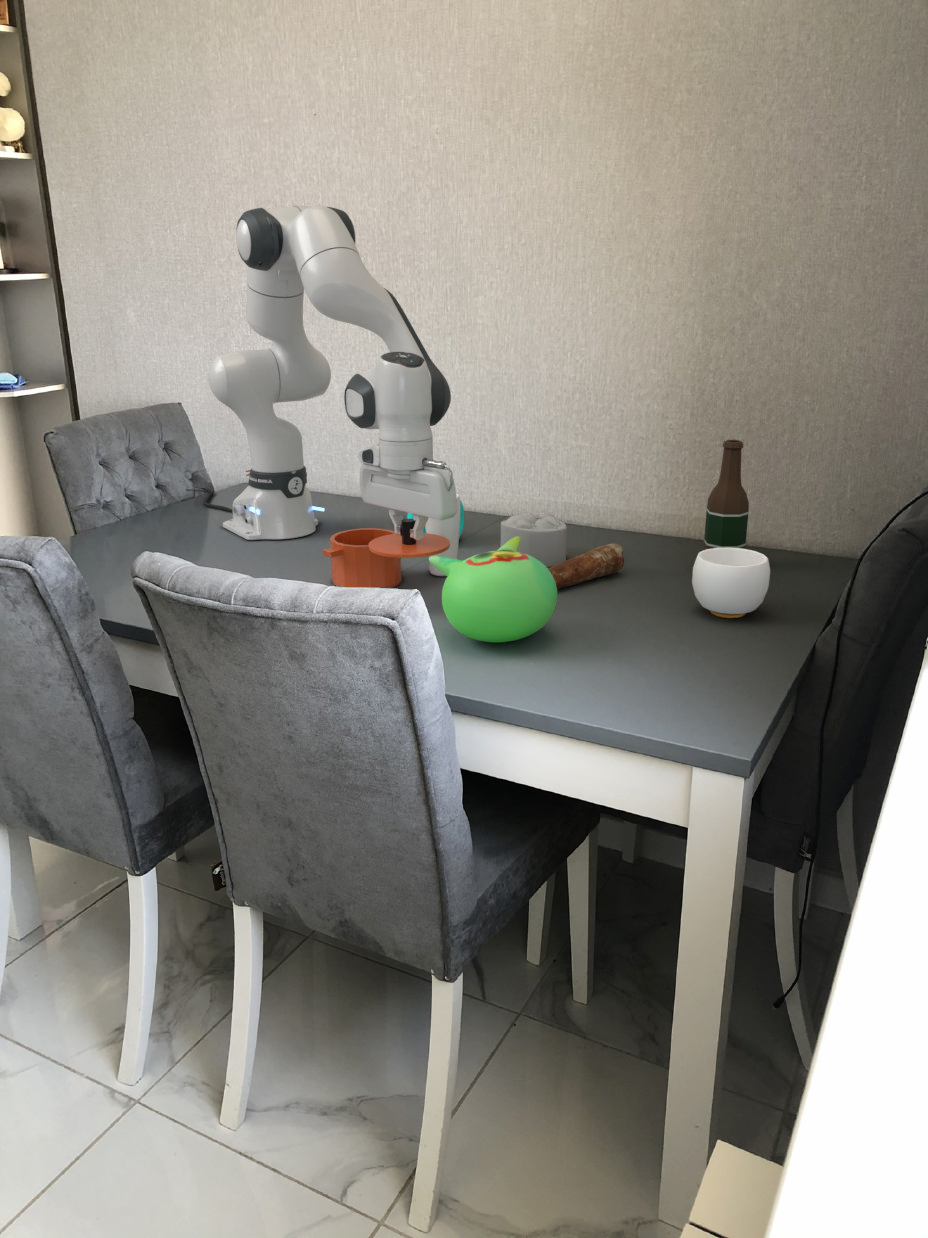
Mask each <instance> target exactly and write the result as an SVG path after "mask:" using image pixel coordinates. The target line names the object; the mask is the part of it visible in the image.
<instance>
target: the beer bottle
mask: <svg viewBox="0 0 928 1238" xmlns="http://www.w3.org/2000/svg"><path fill="white" fill-rule="evenodd" d="M722 447H723V451H722V459H721V466H720V471H719V472H720V473H719V478H718V481H717V483H716V485H715V486H714V487H713V488H712V490H711V492H710V494H709V496H708V498H707V504H706V513H705V525H704V526H705V527H704V536H703V537H704V538H703V549H702V551H704V550H706V549H712V548H741V549H746V546H747V545H746V543H747V534H748V524H749V523H748V522H749V513H750V511H749V509H750V508H749V507H750V506H749V505H750V504H749V498H748V494H747V492H746V491H745V488H744V487H743V484H742V449H744V442H742V440H740V439H727V440H724V441H723V443H722Z"/></svg>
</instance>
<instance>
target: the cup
mask: <svg viewBox="0 0 928 1238" xmlns="http://www.w3.org/2000/svg"><path fill="white" fill-rule="evenodd" d="M769 561H770V560H769V558H768V557H767V556H766V555H765V554H763V553H761V552H759V551H756V550H752V549H746V548H745V549H741V548H712V549H706V550H704V551H703V550H702V551H699V552H698V553H697V556H696V557H695V560H694V564H693V567H692V576H691V584H692V585H691V586H692V589H693V593H694V597H695V598H696V600H697V601H698V603H699V604H700V606H701V607H702V608H704V609H706V610H708V611H709V612H710V613H711V614H712V615H714V616H716V617H720V618H726V619H737V618H742V617H744V616H745V615H746V614H747V613H751V612H753V611H755V610H757V609H758V608H759V607H760V606H761V604H763V602H764V599H765V598H766V595H767V592H768V590H769V587H770V578H771V577H770V576H771V567H770V562H769Z"/></svg>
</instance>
